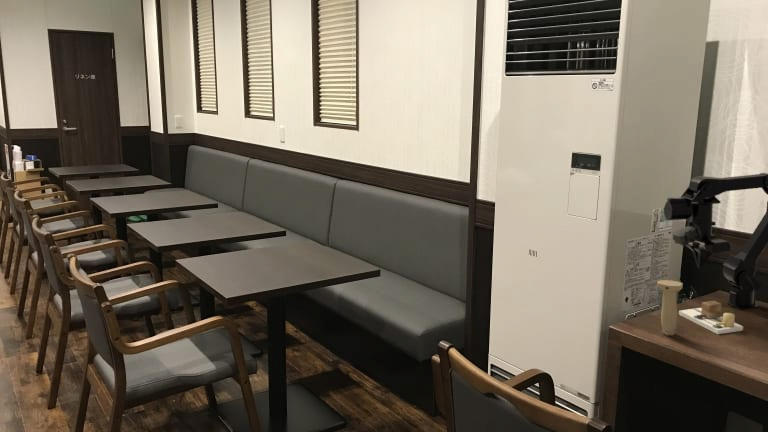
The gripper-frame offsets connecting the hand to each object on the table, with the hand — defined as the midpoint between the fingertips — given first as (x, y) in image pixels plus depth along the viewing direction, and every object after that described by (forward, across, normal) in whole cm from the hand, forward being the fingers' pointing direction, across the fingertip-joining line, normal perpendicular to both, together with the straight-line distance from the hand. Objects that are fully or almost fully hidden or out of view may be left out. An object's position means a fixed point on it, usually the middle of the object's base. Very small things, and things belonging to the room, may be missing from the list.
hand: (700, 267), depth 187 cm
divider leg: (+11, +10, -5) cm, 16 cm away
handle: (+13, +15, -21) cm, 29 cm away
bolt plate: (+13, +11, -5) cm, 18 cm away
